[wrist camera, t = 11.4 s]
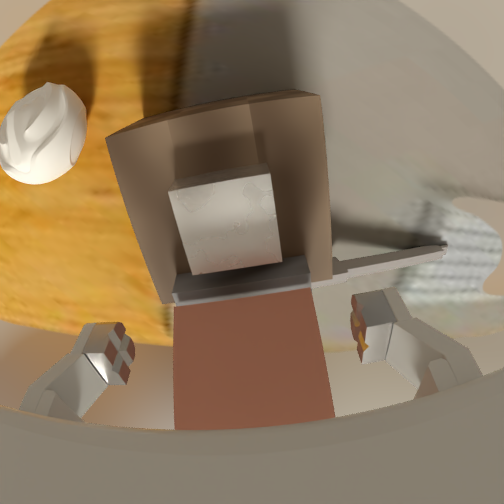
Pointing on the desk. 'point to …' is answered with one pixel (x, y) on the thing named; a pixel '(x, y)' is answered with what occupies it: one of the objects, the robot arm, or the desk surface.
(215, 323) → the panel
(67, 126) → the white ridged ball
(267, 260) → the steel peg
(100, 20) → the desk surface
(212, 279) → the block
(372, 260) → the caliper
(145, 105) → the desk surface
